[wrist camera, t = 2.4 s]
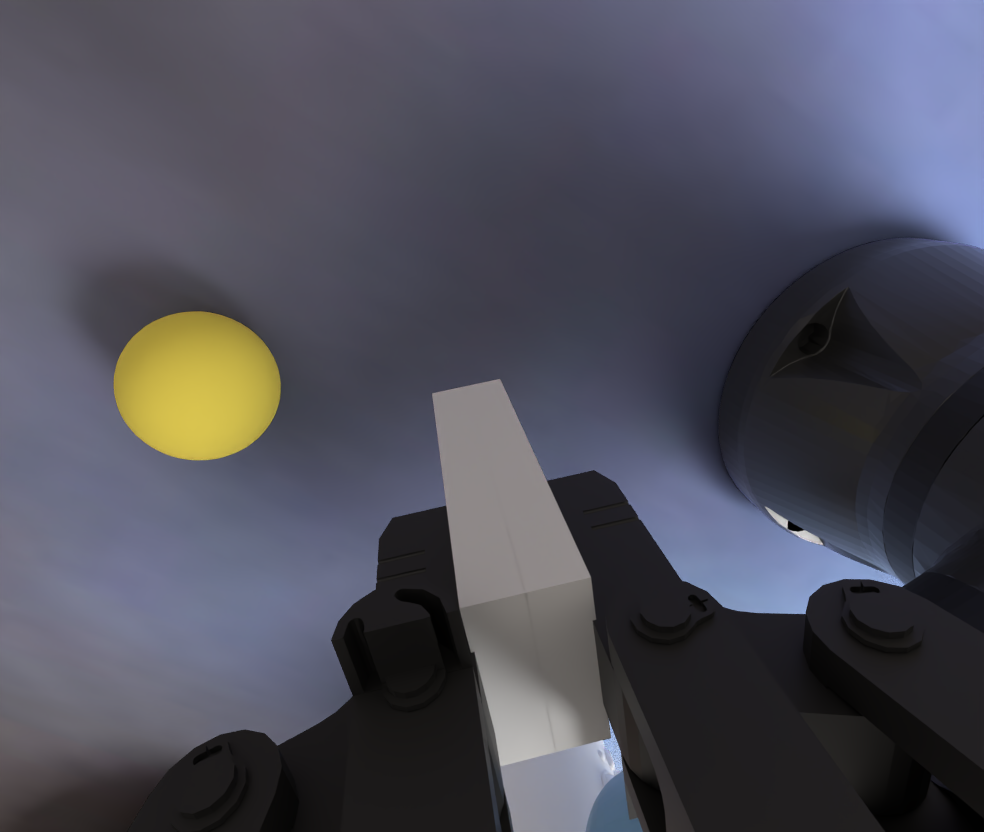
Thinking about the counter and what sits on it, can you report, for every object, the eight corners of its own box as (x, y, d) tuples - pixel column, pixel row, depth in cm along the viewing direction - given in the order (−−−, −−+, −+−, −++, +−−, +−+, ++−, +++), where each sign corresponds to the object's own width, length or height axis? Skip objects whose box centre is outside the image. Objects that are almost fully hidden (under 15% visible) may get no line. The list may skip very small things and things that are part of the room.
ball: (267, 284, 23) (228, 317, 18) (309, 409, 25) (285, 468, 20) (128, 312, 22) (48, 353, 17) (183, 435, 25) (126, 503, 20)
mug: (623, 781, 38) (683, 949, 30) (477, 828, 38) (497, 1010, 30) (588, 658, 33) (649, 818, 25) (420, 711, 33) (425, 891, 25)
